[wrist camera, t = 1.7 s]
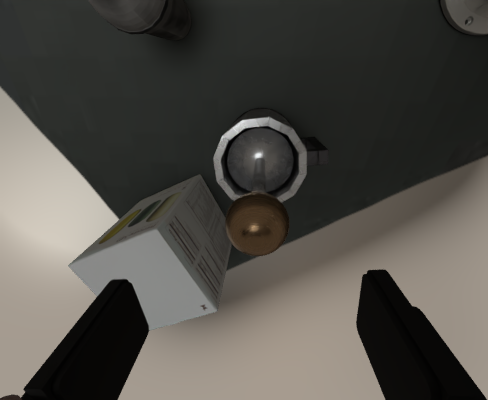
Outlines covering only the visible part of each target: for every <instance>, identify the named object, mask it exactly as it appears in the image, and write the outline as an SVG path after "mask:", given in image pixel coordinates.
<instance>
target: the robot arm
mask: <svg viewBox="0 0 488 400" xmlns="http://www.w3.org/2000/svg"><path fill="white" fill-rule="evenodd" d="M440 3H441V7H442V10H443V13H444V16H445V17H446V19H447V20H448V22H449V23H450V24H451V25H452V26H453V27H454V28H455V29H457V30H459V31H461V32H463V33H465V34H470V35H487V34H488V0H440ZM356 323H357V330H358V333H359V336H360V338H361V341H362V343H363V346H364V348H365V350H366V353H367V355H368V358H369V360H370V363H371V365H372V368H373V370H374V372H375V375H376V377H377V380H378V382H379V385H380V387H381V390H382V392H383V395H384V397H385V400H487V399H486V398H485V396H484V395H483V394H482V392H481V391H480V389H479V388H478V387H477V385H476V384H475V383H474V381H473V380H472V379H471V377H470V376H469V375H468V373H467V372H466V371H465V369H464V368H463V367H462V365H461V364H460V362H459V361H458V360H457V358H456V357H455V356H454V354H453V353H452V352H451V350H450V349H449V347H448V346H447V345H446V343H445V342H444V341H443V339H442V338H441V337H440V335H439V334H438V333H437V331H436V330H435V329H434V327H433V326H432V324H431V323H430V322H429V320H428V319H427V318H426V316H425V315H424V314H423V312H422V311H421V310H420V309H418V308H417V307H413V306H412V305H411V304H410V303H409V301H408V300H407V298H406V297H405V296H404V294H403V293H402V291H401V290H400V289H399V287H398V286H397V284H396V283H395V281H394V280H393V279H392V277H391V276H390V274H389V273H388V272H387V271H386V270H368V271H367V274H364V275H363V277H362V284H361V291H360V299H359V307H358V314H357V321H356ZM148 332H149V325H148V322H147V320H146V317H145V315H144V312H143V310H142V307H141V305H140V302H139V300H138V297H137V295H136V292H135V290H134V287H133V285H132V283H131V282H129V281H128V280H127V279H113V280H111V281H110V282H109V283H108V284H107V285H106V286H105V288H104V289H103V290H102V291H101V293H100V294H99V295H98V296H97V298H96V299H95V300H94V302H93V303H92V304H91V305H90V306H89V308H88V309H87V310H86V312H85V313H84V314H83V315H82V316H81V318H80V319H79V320H78V321H77V323H76V324H75V325H74V326H73V328H72V329H71V330H70V331H69V333H68V334H67V335H66V336H65V338H64V339H63V340H62V341H61V343H60V344H59V345H58V346H57V348H56V349H55V350H54V352H53V353H52V354H51V355H50V356H49V358H48V359H47V360H46V362H45V363H44V364H43V365H42V366H41V368H40V369H39V370H38V371H37V373H36V374H35V375H34V376H33V378H32V379H31V380H30V381H29V383H28V384H27V385H26V386H25V388H24V391H25V393H24V395H23V396H22V397H21V398H20V397H19V396H18V395H9V396H5V397H2V398H0V400H118V397H119V395H120V393H121V391H122V389H123V386H124V385H125V382H126V380H127V378H128V376H129V374H130V372H131V369H132V367H133V365H134V363H135V361H136V359H137V357H138V354H139V352H140V350H141V348H142V346H143V344H144V342H145V339H146V337H147V335H148Z"/></svg>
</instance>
